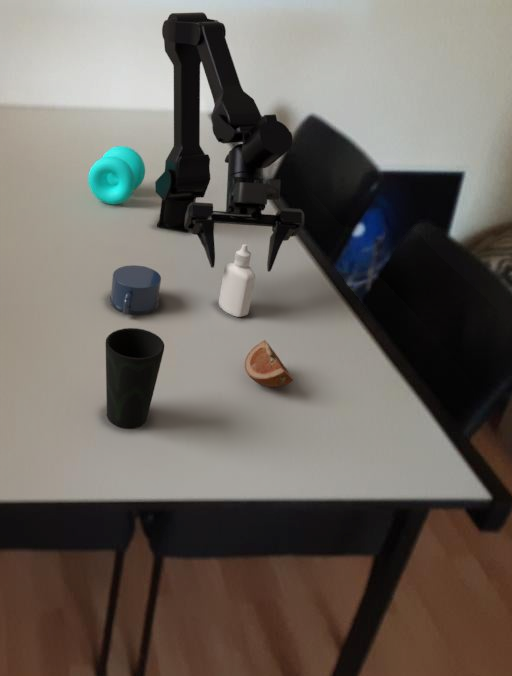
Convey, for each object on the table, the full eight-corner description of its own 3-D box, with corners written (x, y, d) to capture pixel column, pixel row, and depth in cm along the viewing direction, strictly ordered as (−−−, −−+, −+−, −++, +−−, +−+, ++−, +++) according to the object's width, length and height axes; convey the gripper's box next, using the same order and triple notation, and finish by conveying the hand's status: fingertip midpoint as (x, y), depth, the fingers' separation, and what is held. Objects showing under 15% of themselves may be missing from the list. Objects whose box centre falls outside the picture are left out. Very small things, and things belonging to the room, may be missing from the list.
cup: (95, 400, 120) (102, 328, 113) (149, 399, 121) (158, 327, 114) (103, 434, 114) (110, 359, 107) (159, 432, 114) (169, 358, 108)
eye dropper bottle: (242, 301, 145) (254, 237, 138) (249, 318, 141) (262, 253, 134) (216, 301, 145) (227, 237, 138) (223, 318, 140) (235, 252, 134)
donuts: (85, 201, 178) (88, 155, 173) (100, 185, 186) (104, 140, 180) (130, 210, 175) (134, 163, 170) (144, 193, 183) (149, 148, 177)
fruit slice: (298, 398, 122) (305, 369, 119) (253, 400, 122) (259, 371, 119) (278, 366, 129) (285, 338, 126) (236, 367, 128) (241, 339, 125)
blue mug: (117, 287, 148) (119, 261, 145) (163, 296, 146) (167, 270, 143) (100, 314, 140) (102, 287, 137) (149, 324, 138) (152, 297, 135)
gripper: (195, 154, 134) (190, 248, 131) (315, 161, 133) (312, 256, 130) (186, 183, 145) (181, 270, 142) (296, 190, 144) (293, 278, 141)
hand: (241, 268), depth 138 cm, fingers open, 9 cm apart
